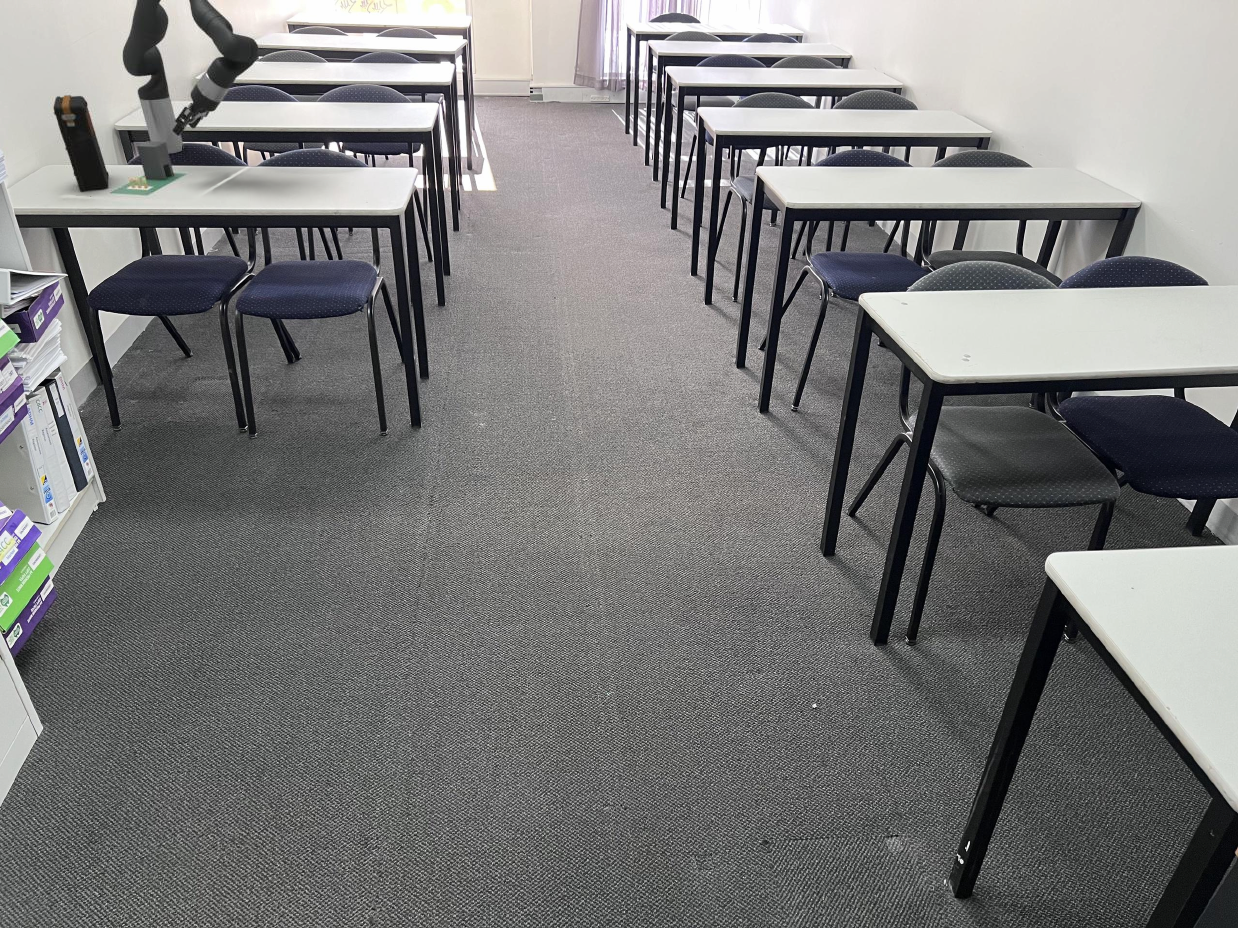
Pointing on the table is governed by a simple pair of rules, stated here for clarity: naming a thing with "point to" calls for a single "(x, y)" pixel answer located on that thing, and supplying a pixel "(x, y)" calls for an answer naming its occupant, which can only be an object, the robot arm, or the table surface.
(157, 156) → the plug housing
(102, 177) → the black bag
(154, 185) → the header board
